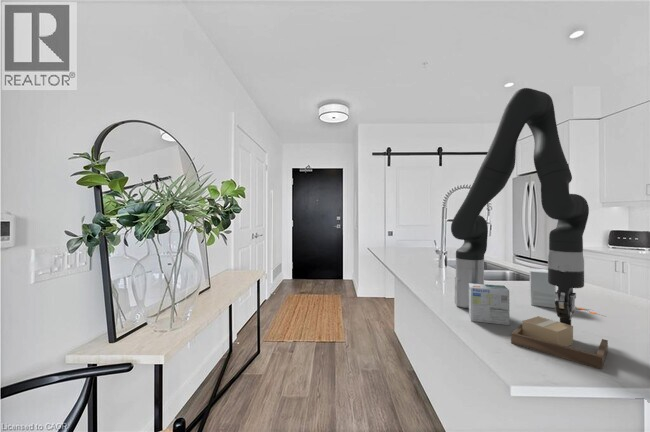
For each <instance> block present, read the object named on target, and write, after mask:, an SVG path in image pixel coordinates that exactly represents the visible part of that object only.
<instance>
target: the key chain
mask: <svg viewBox="0 0 650 432" xmlns="http://www.w3.org/2000/svg"><path fill="white" fill-rule="evenodd" d="M575 310H577V311H587V312H589V314H593V315H597V316H600V317H601V316H602V317H605V318H606V317H607V316H606V315H603V314H600V313H597V312H595V311H591V309H590V308H585V307H584V308H583V307H577V306H575V309H574V310H573V311H574V312H575Z"/></svg>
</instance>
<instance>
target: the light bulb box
mask: <svg viewBox="0 0 650 432" xmlns="http://www.w3.org/2000/svg"><path fill="white" fill-rule="evenodd" d="M468 317H469V318H470V319H469V320H470V321H471V322H475V323H485V324H486V323H487V324H494V325H495V324H496V325H504V326H510V325H511V324H510V320H511V319H510V289H509V288H507V287H506V286H505V284H503V285H501V284H486V283H484V284H472V283H469V309H468Z"/></svg>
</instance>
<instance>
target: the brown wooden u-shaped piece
mask: <svg viewBox="0 0 650 432" xmlns="http://www.w3.org/2000/svg"><path fill="white" fill-rule="evenodd" d="M608 341H609V340H608V339H603V338H602V339H601V341H600V344H599V346H598V349H597V352H596V354H595V353H592V352H588V351H585V350H580V349H576V348H572V347H570V346H562V345H558V344H554V343H551V342H547V341H543V340H539V339H535V338H532V337H528V336H524V335H522V324H520V325H519V326H518V327H517V328H516V329H514V330H513V331H512V332H511V333H510V343H511V344H513V345H517V346H519V345H520V347H523V346H524V348H526V347H528V348H527V349H530V348H531V349H530V350H533V349H534V351H537V352H540V353H543V354H548V355H551V356H555V357H558V358H561V359H564V360H569V361H571V362H575V363H579V364H583V365H586V366H588V367H593V368H594V369H595V368H596V369H599V370H603V367H604V364H605V361H606V358H607V354H608V349H609V345H608V343H609V342H608ZM605 357H606V358H605Z"/></svg>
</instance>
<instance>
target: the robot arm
mask: <svg viewBox="0 0 650 432" xmlns="http://www.w3.org/2000/svg"><path fill="white" fill-rule="evenodd" d="M555 111H556V110H555V106H554V102H553V98H552V97H551V96H550V94H548V93H547V92H544V91H542V90H541V91H540V90H537V89H533V88H530V87H529V88H528V87H523V88H521V89H518V90H516V91H515V92H514V93H513V94H512V95H511V96H510V98H509V99H508V100H507V103H506V105H505V107H504V109H503V113H502V115H501V118H500V121H499V124H498V127H497V129H496V133H495V134H494V136H493V139H492V141H491V144H490V145H489V149H488V151H487V152H486V155H485V157H484V160H483V161H482V163H481V166H480V167H479V169H478V172H477V174H476V176H475V179H474V180H473V182H472V184H471V186H470V188H469V191H468V192H467V195H466V197H465V199H463V202H462V204H461V206H460V208H459V209H458V210H457V211H456V214H455V215H454V217H453V219H452V222H451V225H450V230H451V234H452V236H453V238H455V239H456V240H461V241H464V242H463V244H462V245H461V247H459V248H457V249H456V252H455V277H454V303H455V305H456V307H457V308H458V307H459V308H463V309H468V310H469V283H472V284H485V254H486V252H487V248H488V235H489V234H488V231H489V229H488V222H487V221H486V218H485V217H484V216H482V215H480V214H481V212H482V210H483V209H484V208H485V207H486V205H488V204H489V203H490V201H492V200H493V199H494V198H495V197H496V196H497V195H499V193H500V192H501V191H502V190H503V189H504V188H505V186H506V185H507V183H508V181H509V179H510V178H511V175H512V174H513V172H514V169H515V167H516V166H515V165H516V160H517V159H516V157H517V156H516V154H517V151H516V150H517V142H518V140H519V138H520V134H521V133H522V130H523V129H524V127H525V126H526V125H527V126H528V128H529V129H530V131H531V134H532V136H533V140H534V149H533V165H534V168H535V172H536V175H537V177H538V180H539V182H540V200H541V206H542V209H543V211H544V213H545V214H546V215H547V217H548V218H551V219H552V220H557V225H556V227H555V228H554V229H551V231H550V232H549V235H548V236H549V237H548V256H547V270H548V283H549V284H551V285H556V287H557V290H556V292H555V298H556V301H555V305H556V308H555V309H556V316H557V318H559V322H561V323H564V324H568V325H572V319H573V315H574V313H575V310H576V309H575V307H576V306H575V305H576V302H575V301H576V298H577V292H574V289H582V288H584V286H585V258H584V238H583V235H584V232H585V230H586V226H587V222H588V219H589V214H590V207H589V204H588V201H587V199H586V198H585V197H584V196H583V195H580V194H576V193H570V191H569V186H568V185H569V184H570V183H571V182H572V180H573V175H572V172H571V169H570V166H569V163H568V161H567V159H566V156H565V154H564V151H563V147H562V144H561V140H560V135H559V131H558V125H557V121H556V113H555ZM573 310H574V311H573Z"/></svg>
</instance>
